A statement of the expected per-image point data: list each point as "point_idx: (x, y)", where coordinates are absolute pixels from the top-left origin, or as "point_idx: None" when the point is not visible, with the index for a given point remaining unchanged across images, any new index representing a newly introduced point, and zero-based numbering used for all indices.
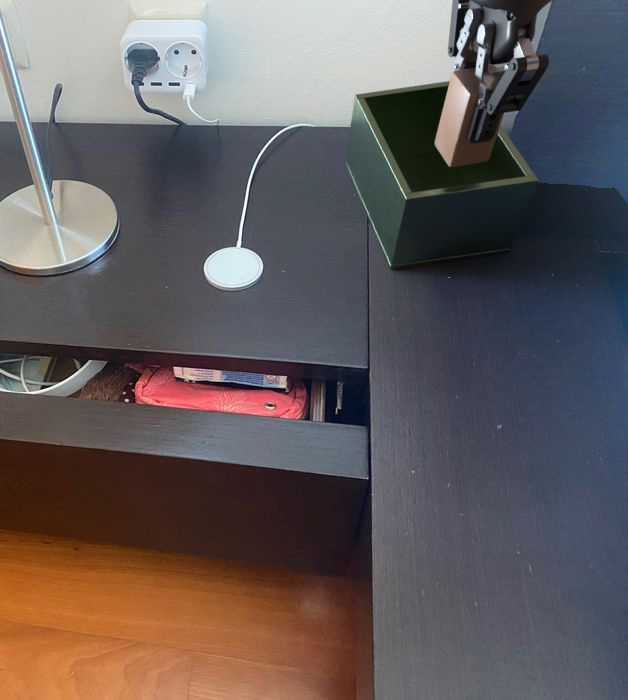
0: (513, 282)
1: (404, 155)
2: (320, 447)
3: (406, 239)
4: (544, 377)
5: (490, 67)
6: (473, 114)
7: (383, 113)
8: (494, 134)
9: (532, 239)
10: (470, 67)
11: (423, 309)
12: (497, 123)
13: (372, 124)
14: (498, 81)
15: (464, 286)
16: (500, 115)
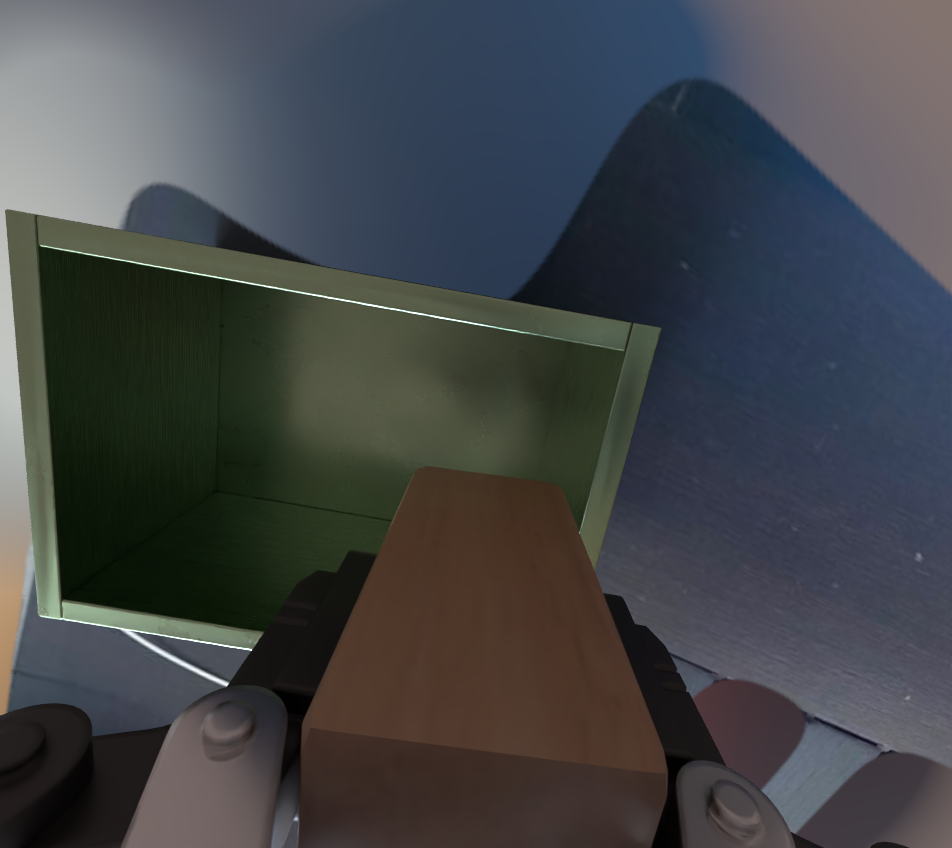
0: (664, 355)
1: (215, 377)
2: (805, 780)
3: None
4: (884, 436)
5: (358, 794)
6: None
7: (115, 499)
8: (669, 654)
9: (572, 239)
10: (275, 843)
11: (646, 544)
12: (695, 711)
13: (208, 637)
14: (564, 834)
15: (630, 450)
16: (718, 755)
